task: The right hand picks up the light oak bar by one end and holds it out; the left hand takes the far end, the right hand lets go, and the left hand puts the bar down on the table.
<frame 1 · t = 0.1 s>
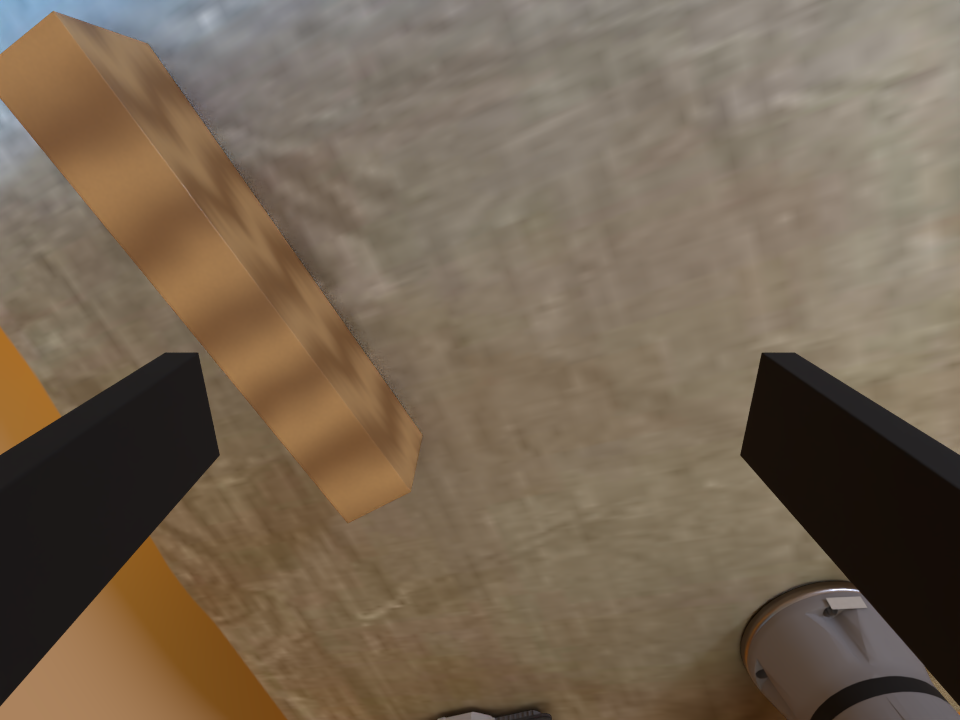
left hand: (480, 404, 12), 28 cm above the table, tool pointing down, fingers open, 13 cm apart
bar: (274, 283, 40), on the table
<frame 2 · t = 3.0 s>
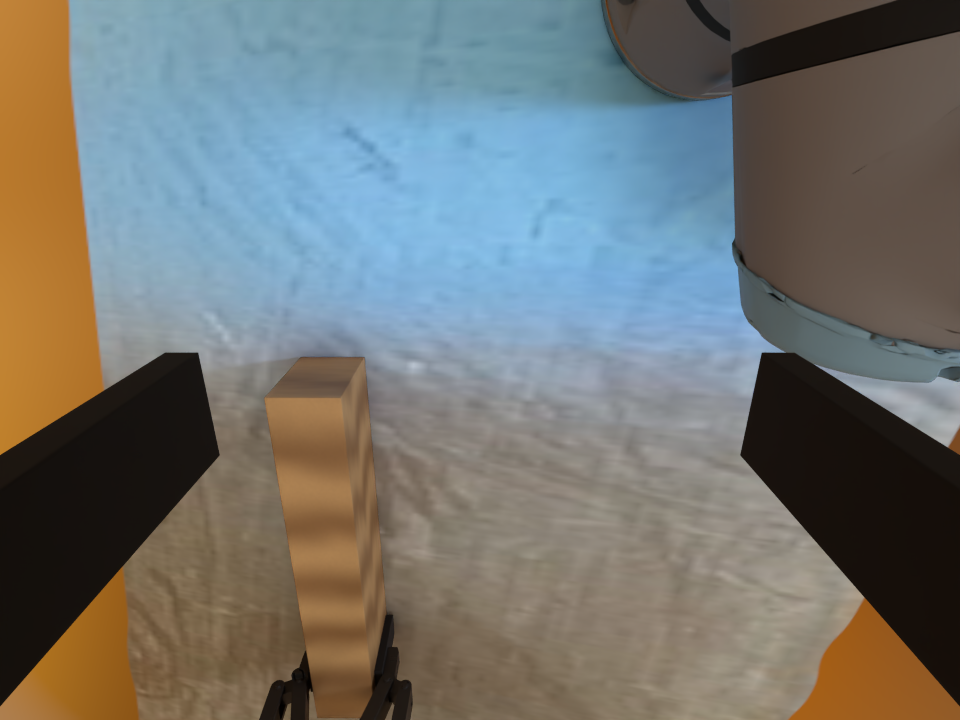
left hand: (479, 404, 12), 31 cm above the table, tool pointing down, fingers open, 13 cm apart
bar: (350, 517, 51), on the table, touching right hand
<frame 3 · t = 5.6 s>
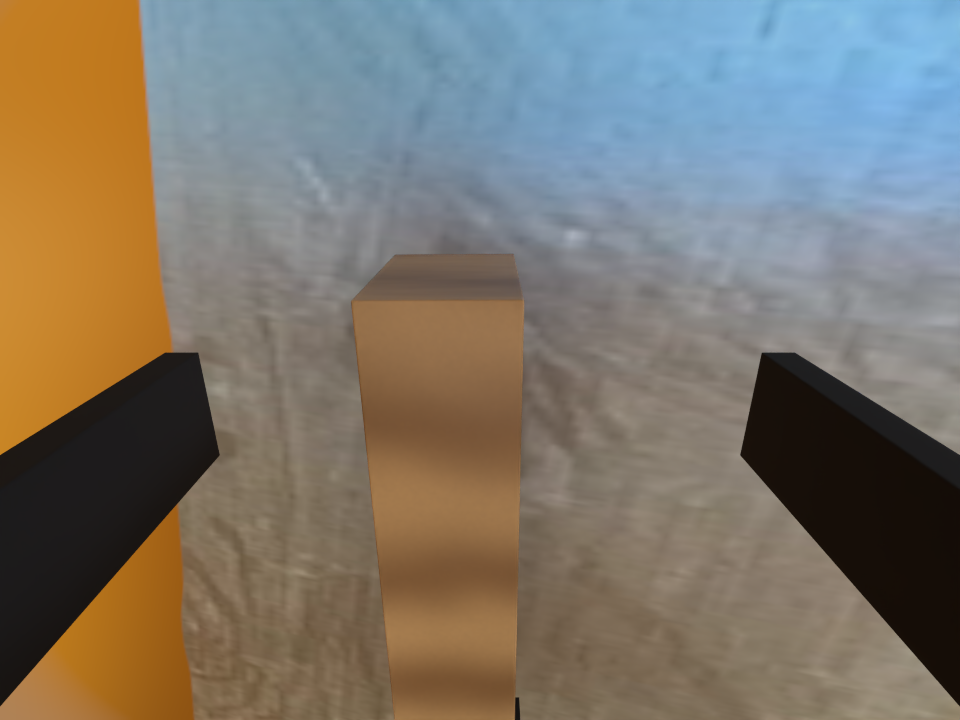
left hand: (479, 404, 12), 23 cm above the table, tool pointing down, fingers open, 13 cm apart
bar: (462, 544, 30), point 10 cm above the table, touching right hand
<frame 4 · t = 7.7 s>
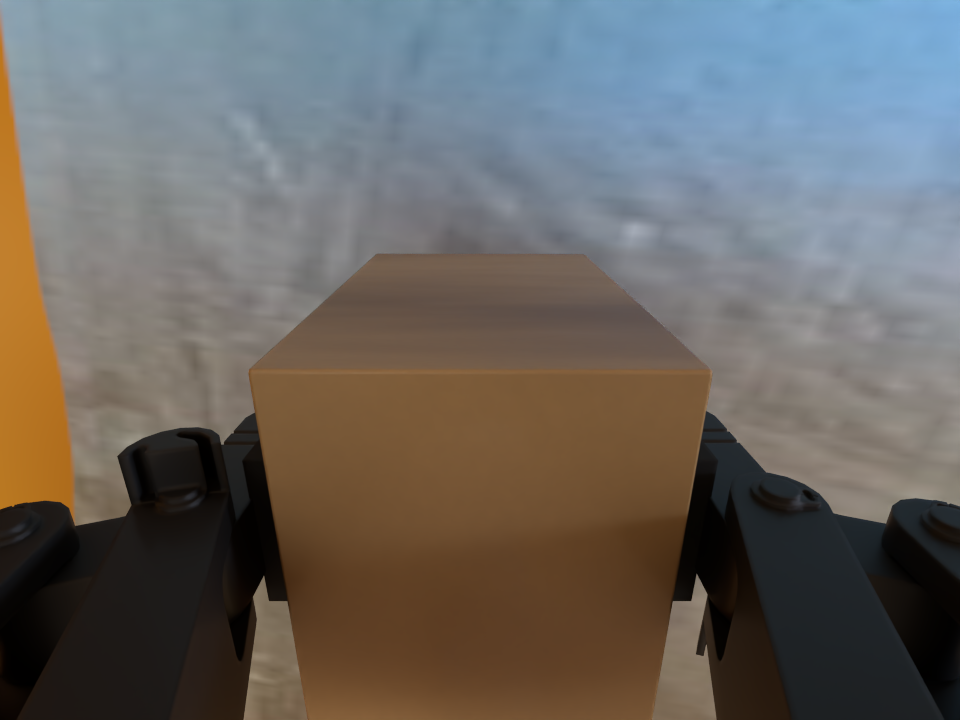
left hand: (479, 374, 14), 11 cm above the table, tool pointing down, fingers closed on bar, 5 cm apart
bar: (479, 699, 20), point 10 cm above the table, touching left hand, right hand
when the right hand's fingers open (11 cm above the table, at t = 8.5 s): bar stays where it is, held by the left hand.
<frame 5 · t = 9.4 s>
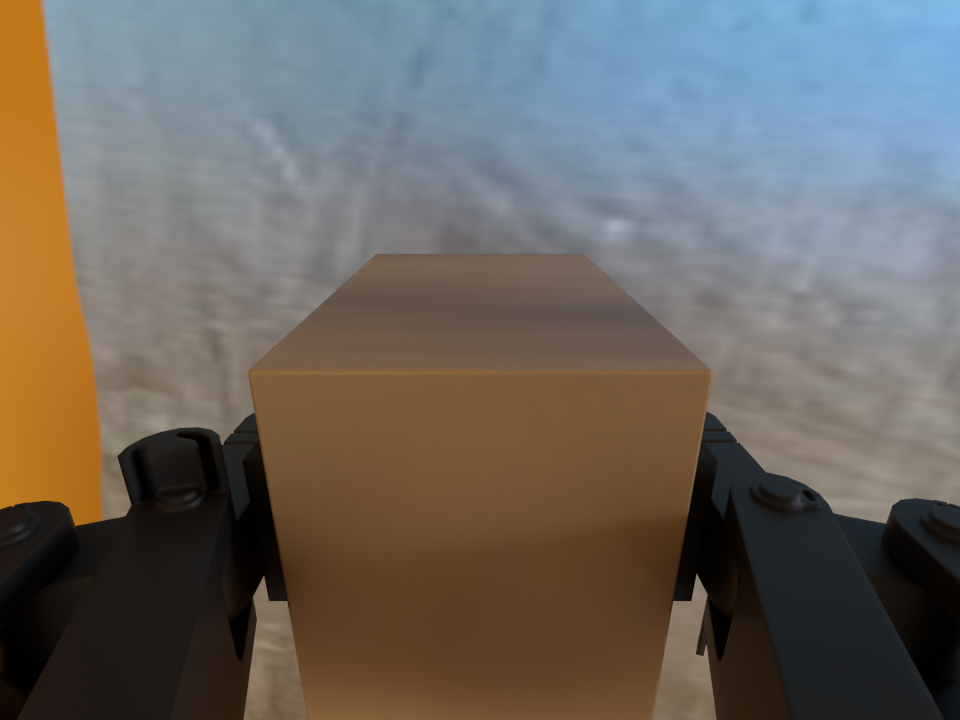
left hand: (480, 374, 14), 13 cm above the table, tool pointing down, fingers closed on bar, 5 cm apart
bar: (479, 700, 20), point 13 cm above the table, touching left hand
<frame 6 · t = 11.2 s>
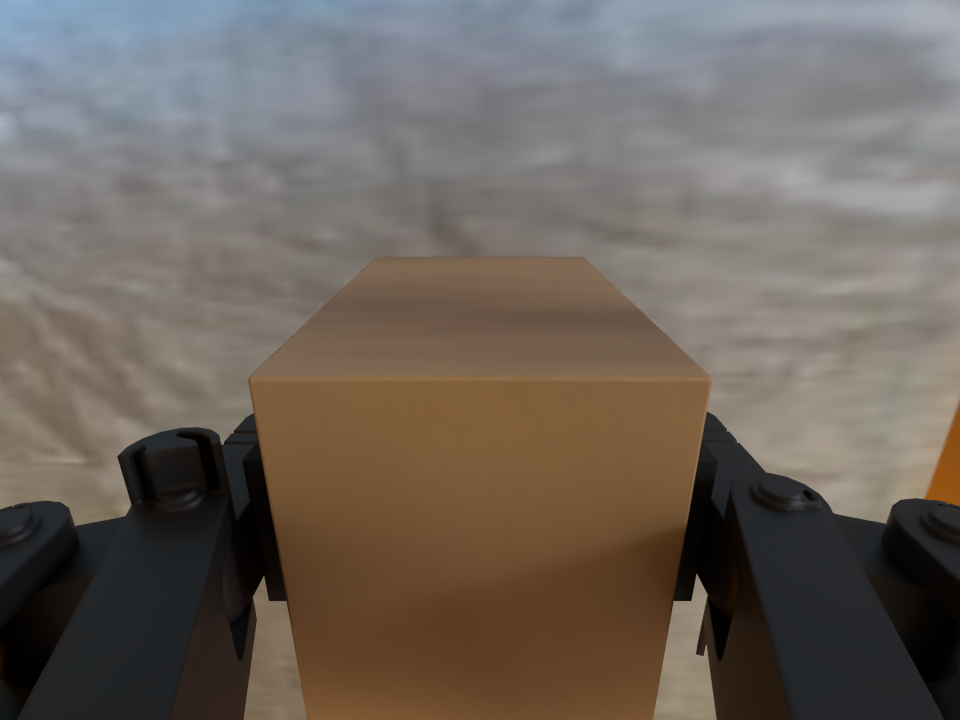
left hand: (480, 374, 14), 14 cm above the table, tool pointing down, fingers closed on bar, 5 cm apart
bar: (479, 701, 20), point 13 cm above the table, touching left hand
when the left hand's fingers open (2 cm above the table, at t = 12.9 s): bar stays where it is, on the table.
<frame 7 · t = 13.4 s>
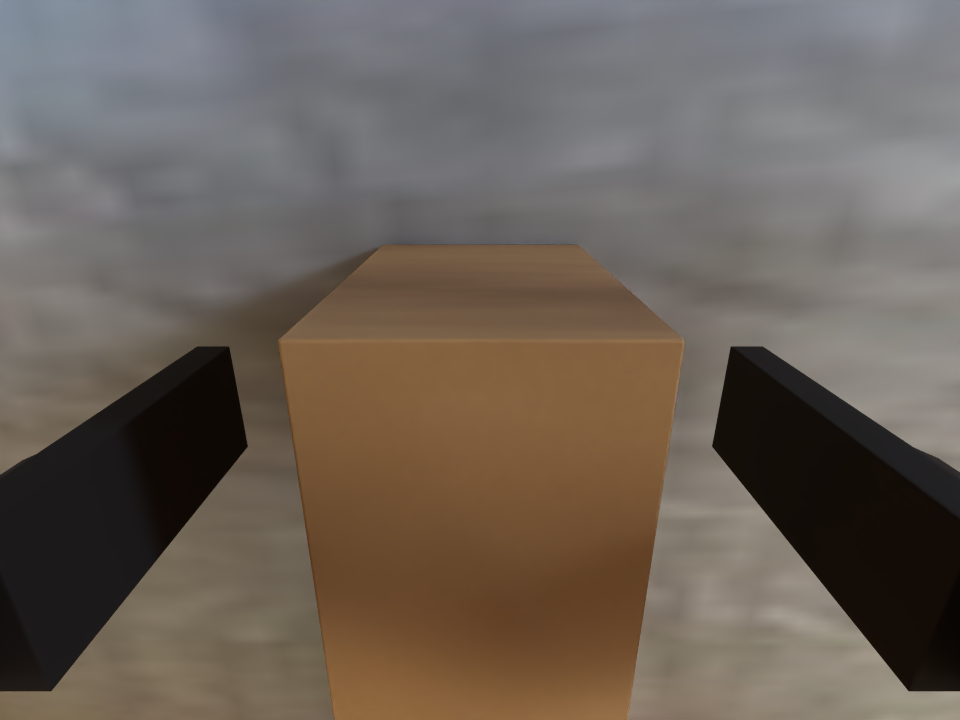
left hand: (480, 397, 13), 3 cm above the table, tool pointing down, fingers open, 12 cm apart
bar: (480, 673, 21), on the table
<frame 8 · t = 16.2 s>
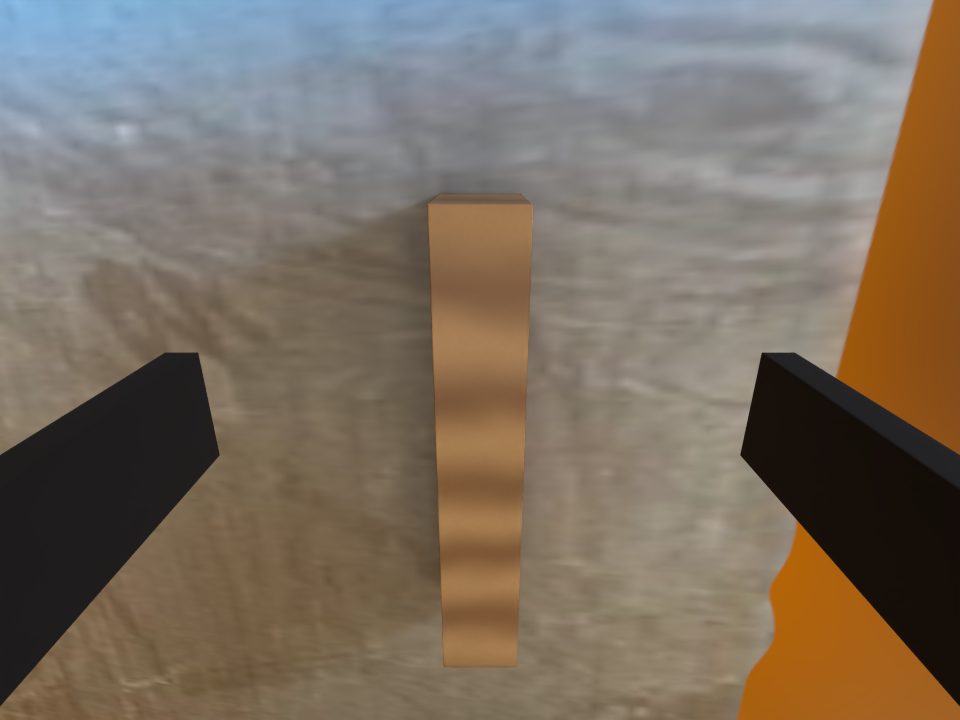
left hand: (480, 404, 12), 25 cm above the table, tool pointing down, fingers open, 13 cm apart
bar: (480, 418, 41), on the table
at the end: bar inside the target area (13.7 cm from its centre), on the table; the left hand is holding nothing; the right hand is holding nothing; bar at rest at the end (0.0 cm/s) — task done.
